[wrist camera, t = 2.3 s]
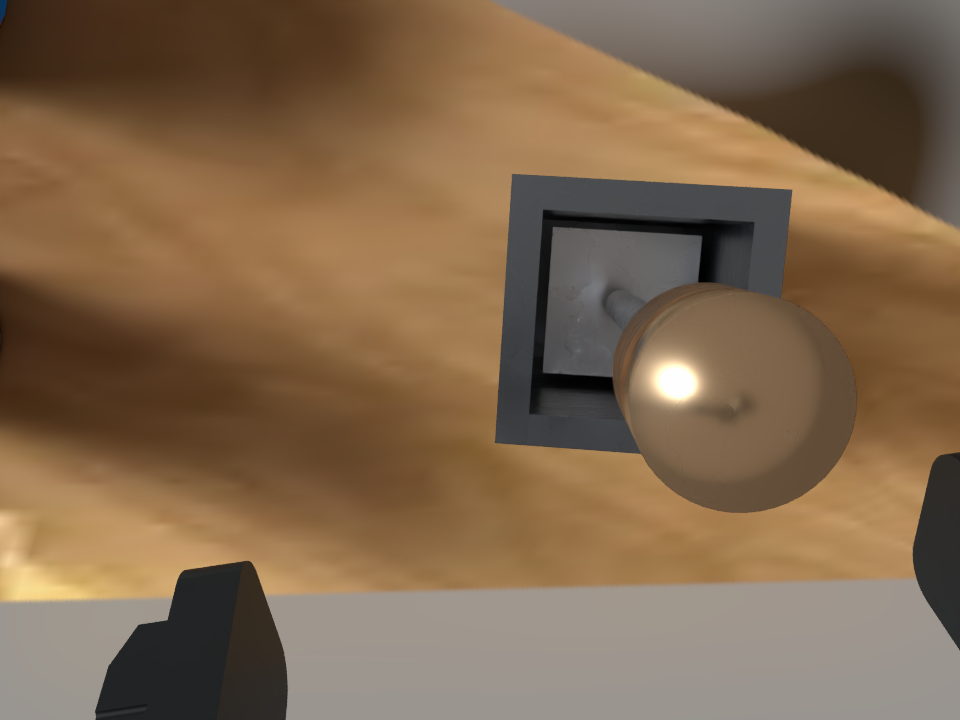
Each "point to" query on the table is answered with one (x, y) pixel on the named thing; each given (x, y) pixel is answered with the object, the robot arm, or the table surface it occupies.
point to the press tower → (618, 207)
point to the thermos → (2, 10)
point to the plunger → (700, 368)
